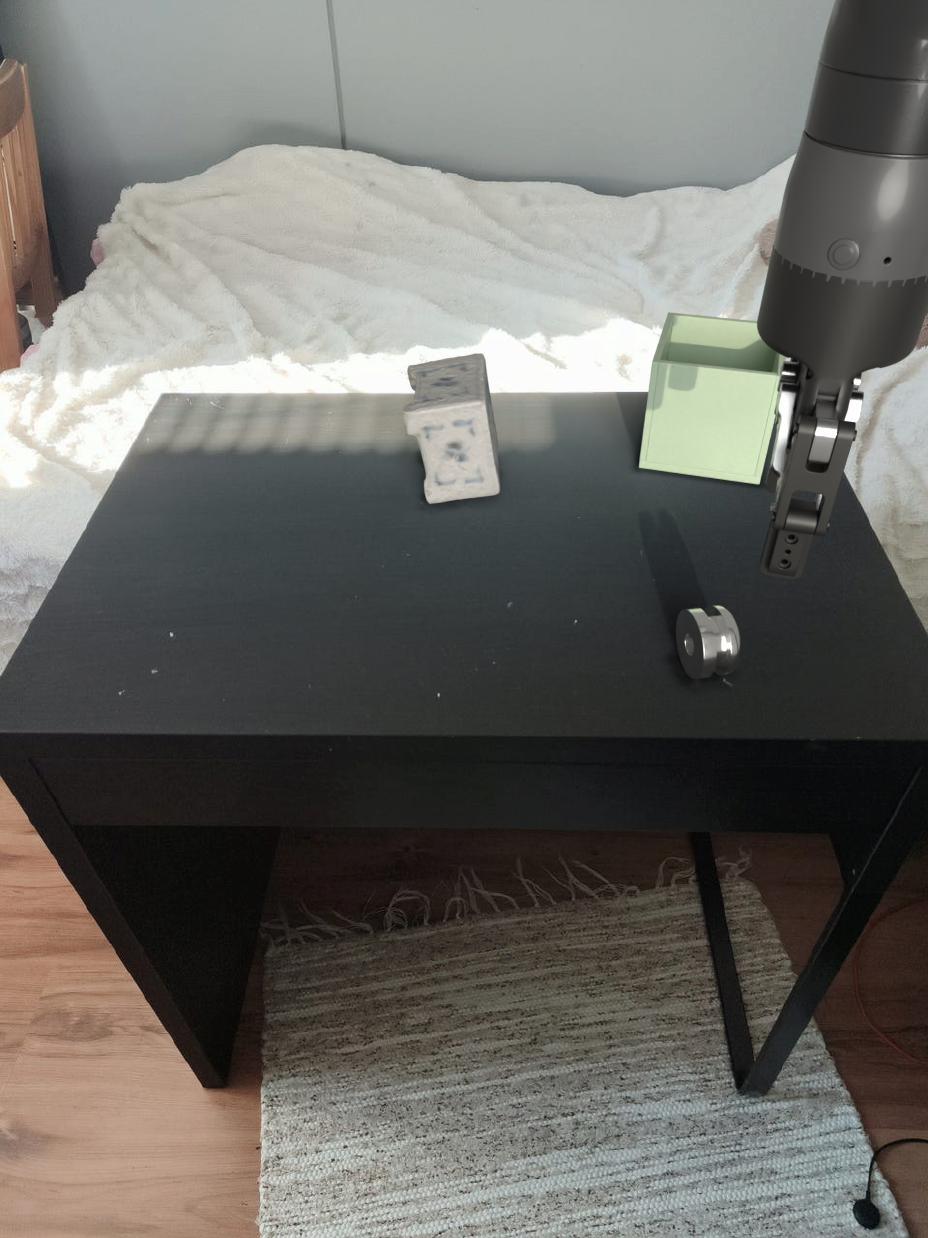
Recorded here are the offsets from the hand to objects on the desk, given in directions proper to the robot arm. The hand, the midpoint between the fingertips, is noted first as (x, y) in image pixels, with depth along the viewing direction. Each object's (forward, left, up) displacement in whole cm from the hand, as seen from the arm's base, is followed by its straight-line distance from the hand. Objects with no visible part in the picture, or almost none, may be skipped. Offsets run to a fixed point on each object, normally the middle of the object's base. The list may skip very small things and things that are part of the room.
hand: (781, 529), depth 53 cm
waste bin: (+5, -35, -15) cm, 39 cm away
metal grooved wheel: (+2, -4, -16) cm, 16 cm away
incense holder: (+27, -23, -16) cm, 39 cm away
